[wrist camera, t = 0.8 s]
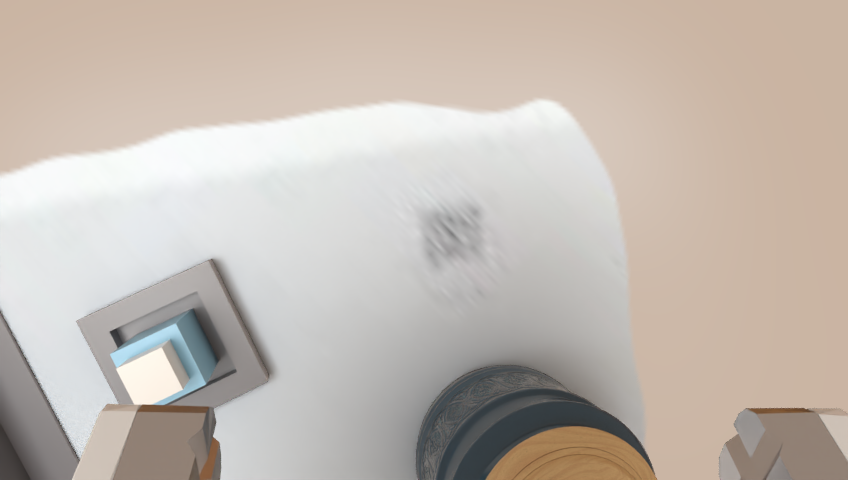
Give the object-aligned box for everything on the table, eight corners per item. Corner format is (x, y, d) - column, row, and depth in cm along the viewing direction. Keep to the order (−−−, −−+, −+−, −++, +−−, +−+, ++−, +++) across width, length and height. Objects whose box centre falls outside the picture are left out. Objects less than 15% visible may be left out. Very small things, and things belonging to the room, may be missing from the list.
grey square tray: (268, 375, 50) (267, 381, 48) (146, 435, 49) (140, 444, 47) (211, 258, 49) (208, 260, 47) (84, 316, 48) (75, 321, 46)
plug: (218, 361, 49) (200, 395, 40) (163, 387, 49) (131, 428, 39) (192, 308, 49) (167, 330, 39) (136, 334, 48) (97, 363, 39)
